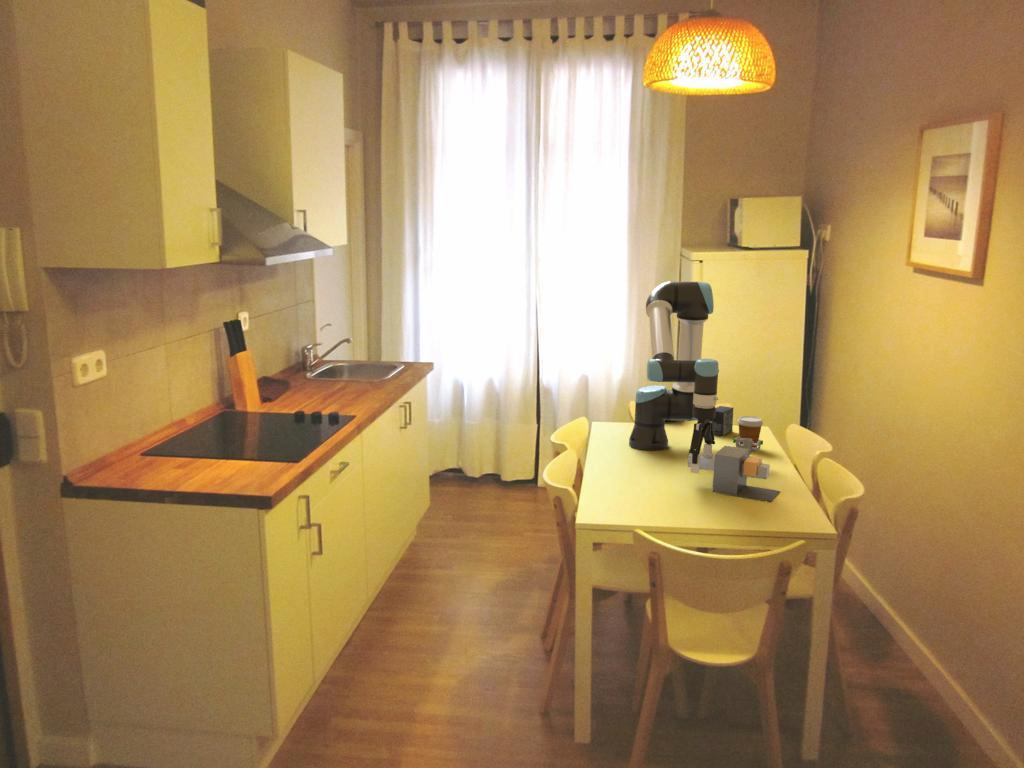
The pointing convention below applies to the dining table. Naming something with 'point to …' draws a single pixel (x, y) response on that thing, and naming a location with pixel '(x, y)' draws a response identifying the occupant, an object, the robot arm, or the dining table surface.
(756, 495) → the mat
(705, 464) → the shaft
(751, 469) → the block
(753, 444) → the mechanical component
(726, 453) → the block
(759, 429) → the disposable coffee cup
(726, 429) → the small box
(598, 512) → the dining table surface
